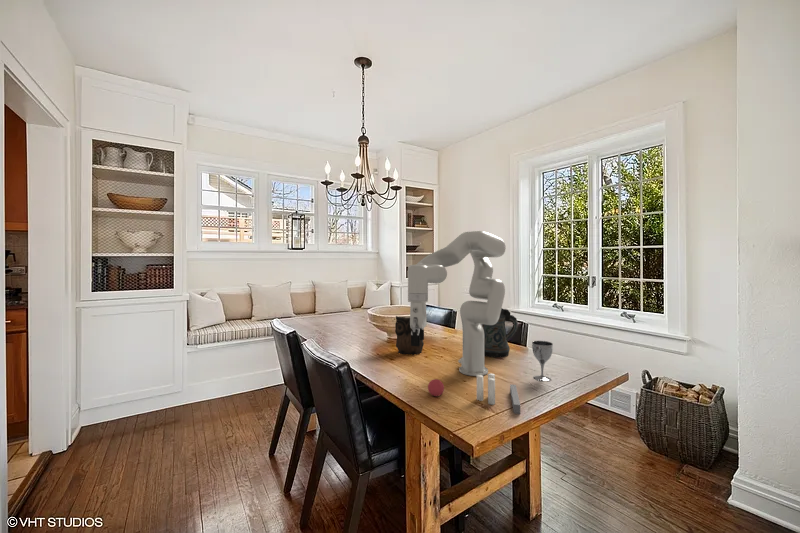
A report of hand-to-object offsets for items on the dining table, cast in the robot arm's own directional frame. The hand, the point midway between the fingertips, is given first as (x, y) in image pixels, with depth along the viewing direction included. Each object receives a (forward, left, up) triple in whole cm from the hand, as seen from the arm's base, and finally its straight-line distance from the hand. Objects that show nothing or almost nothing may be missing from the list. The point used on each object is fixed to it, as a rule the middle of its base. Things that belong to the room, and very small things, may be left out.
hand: (417, 342), depth 133 cm
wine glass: (+15, +52, -20) cm, 58 cm away
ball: (+5, +4, -16) cm, 18 cm away
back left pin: (+18, +20, -19) cm, 33 cm away
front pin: (+17, +16, -19) cm, 30 cm away
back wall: (+25, +24, -19) cm, 40 cm away
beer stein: (-22, +64, -20) cm, 71 cm away
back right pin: (+21, +17, -19) cm, 33 cm away
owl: (-49, +28, -20) cm, 60 cm away
